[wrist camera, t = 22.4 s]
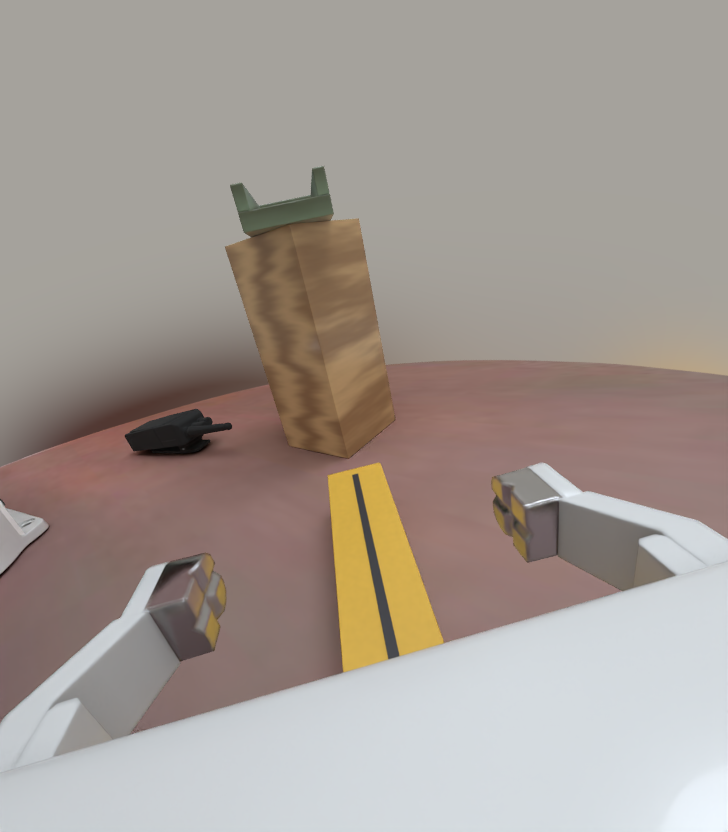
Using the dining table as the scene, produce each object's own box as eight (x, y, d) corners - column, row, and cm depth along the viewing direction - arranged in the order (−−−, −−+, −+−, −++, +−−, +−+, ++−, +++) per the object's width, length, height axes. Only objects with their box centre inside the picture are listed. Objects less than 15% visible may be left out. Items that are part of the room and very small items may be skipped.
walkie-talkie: (164, 422, 58) (258, 407, 49) (154, 460, 56) (251, 451, 47) (125, 410, 53) (223, 391, 44) (114, 451, 51) (214, 439, 42)
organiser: (410, 445, 40) (360, 150, 29) (285, 476, 39) (187, 185, 28) (384, 400, 54) (343, 189, 43) (291, 423, 53) (226, 213, 42)
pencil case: (523, 907, 11) (519, 854, 10) (386, 951, 11) (359, 902, 10) (388, 500, 32) (379, 461, 30) (338, 513, 31) (327, 474, 30)
